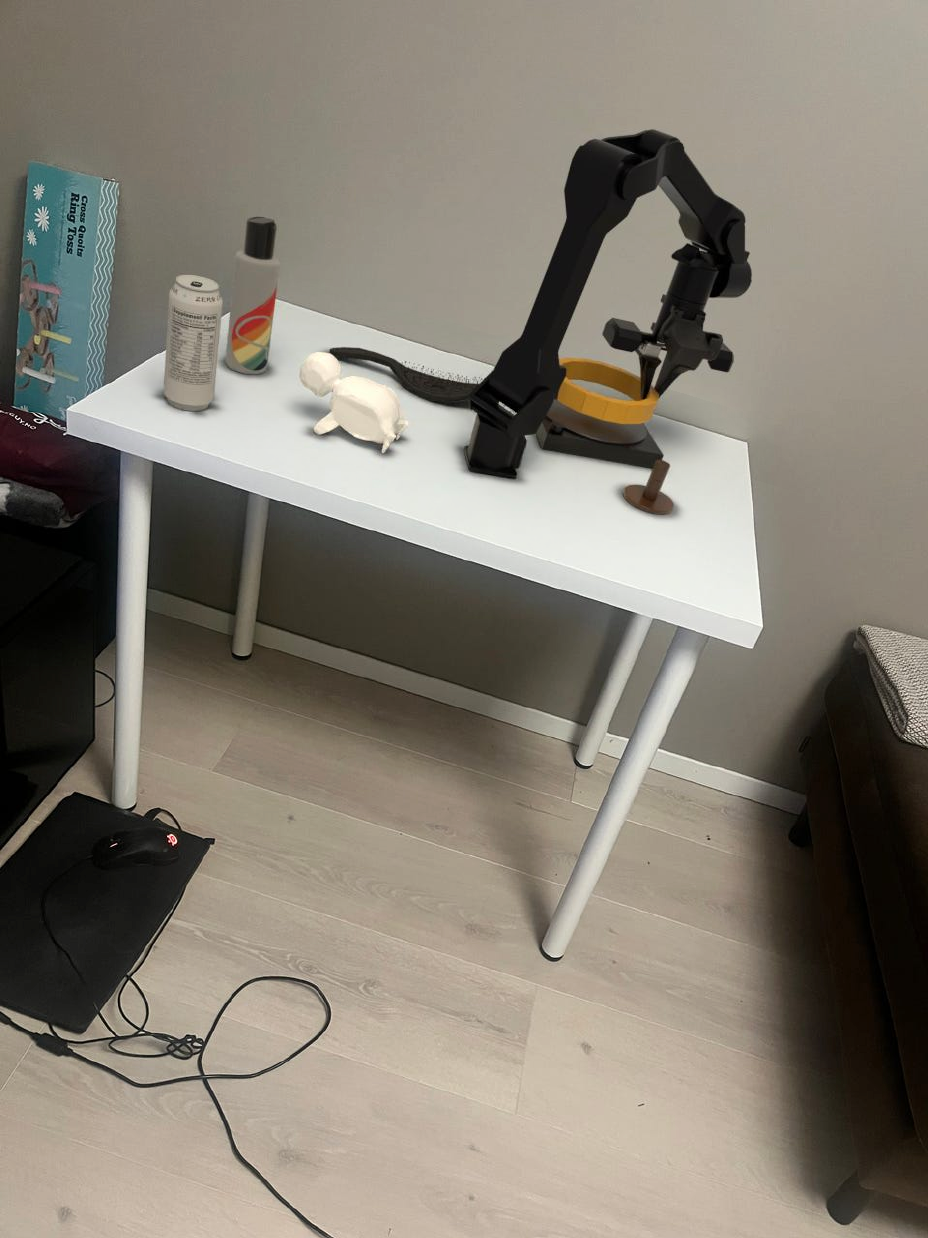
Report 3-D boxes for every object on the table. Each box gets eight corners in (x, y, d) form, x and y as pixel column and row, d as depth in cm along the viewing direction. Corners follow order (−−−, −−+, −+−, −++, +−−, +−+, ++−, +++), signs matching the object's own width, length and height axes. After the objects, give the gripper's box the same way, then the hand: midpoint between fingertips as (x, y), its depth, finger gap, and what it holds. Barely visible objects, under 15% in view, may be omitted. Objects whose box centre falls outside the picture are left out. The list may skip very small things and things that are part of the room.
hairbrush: (343, 329, 141) (494, 375, 137) (340, 352, 143) (489, 398, 139) (320, 342, 134) (478, 390, 130) (317, 366, 136) (473, 414, 132)
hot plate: (542, 449, 129) (549, 427, 127) (521, 398, 144) (527, 378, 142) (658, 469, 134) (666, 448, 132) (626, 418, 148) (633, 398, 146)
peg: (630, 510, 120) (646, 471, 117) (617, 484, 126) (631, 446, 122) (678, 518, 122) (695, 479, 118) (663, 492, 127) (679, 455, 124)
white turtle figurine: (390, 452, 123) (302, 380, 122) (423, 405, 119) (332, 330, 117) (366, 474, 116) (273, 399, 115) (401, 426, 112) (304, 346, 110)
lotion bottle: (262, 378, 125) (280, 228, 114) (220, 368, 125) (235, 216, 114) (270, 364, 130) (288, 218, 119) (230, 354, 129) (244, 207, 118)
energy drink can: (217, 398, 117) (228, 281, 109) (207, 416, 112) (218, 295, 104) (169, 387, 116) (177, 269, 108) (157, 406, 111) (164, 283, 103)
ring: (557, 412, 127) (564, 391, 125) (536, 368, 140) (542, 349, 138) (665, 432, 131) (672, 412, 129) (634, 387, 144) (641, 369, 142)
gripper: (641, 300, 119) (603, 410, 128) (767, 329, 124) (722, 433, 132) (620, 276, 128) (585, 380, 137) (738, 303, 132) (697, 403, 141)
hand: (648, 400), depth 137 cm, fingers closed on ring
